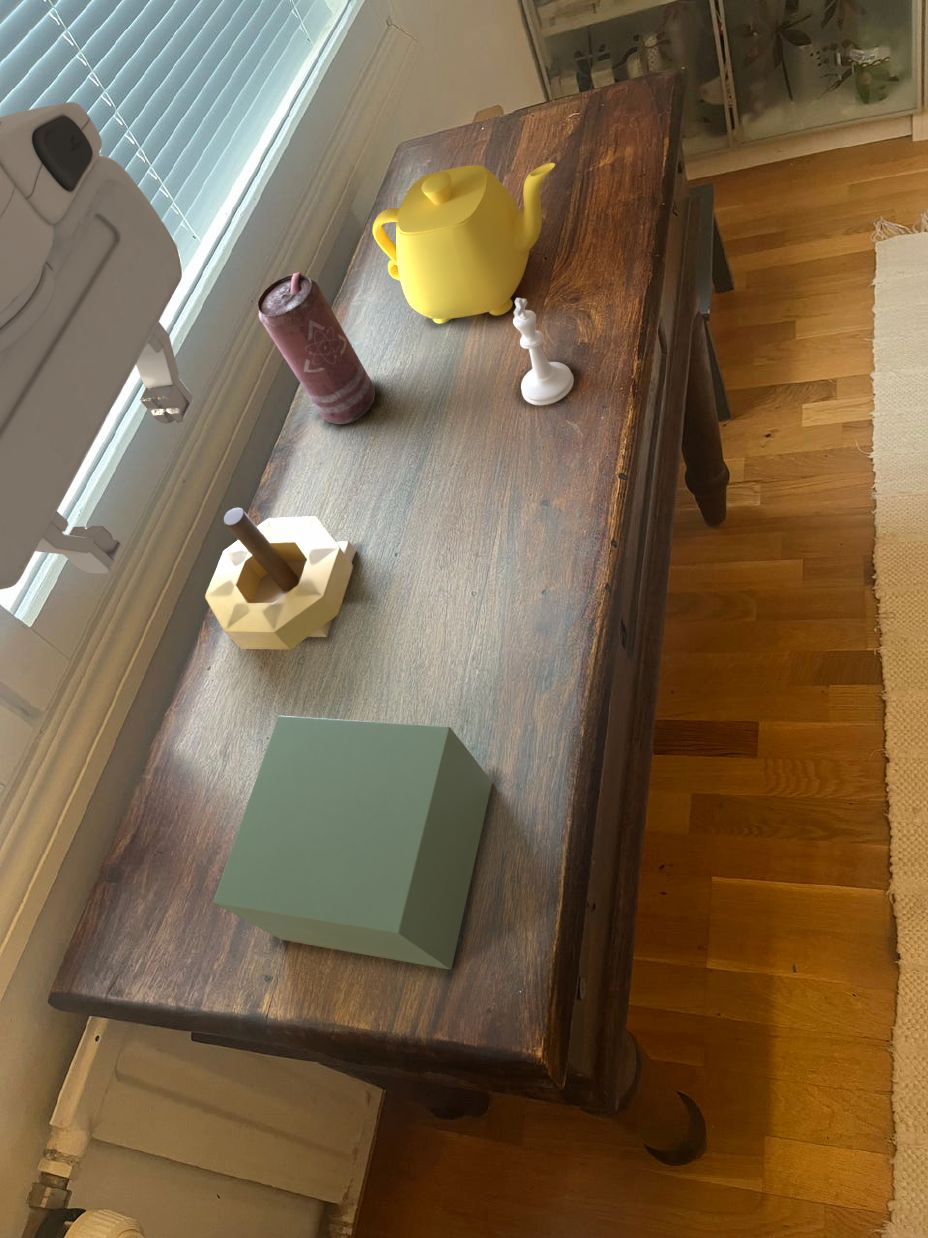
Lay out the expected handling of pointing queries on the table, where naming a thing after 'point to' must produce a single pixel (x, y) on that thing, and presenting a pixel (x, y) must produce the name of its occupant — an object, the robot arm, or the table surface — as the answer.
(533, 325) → the chess piece
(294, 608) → the brass ring
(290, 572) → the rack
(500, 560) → the table surface
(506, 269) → the teapot
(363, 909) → the plinth
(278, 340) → the can
